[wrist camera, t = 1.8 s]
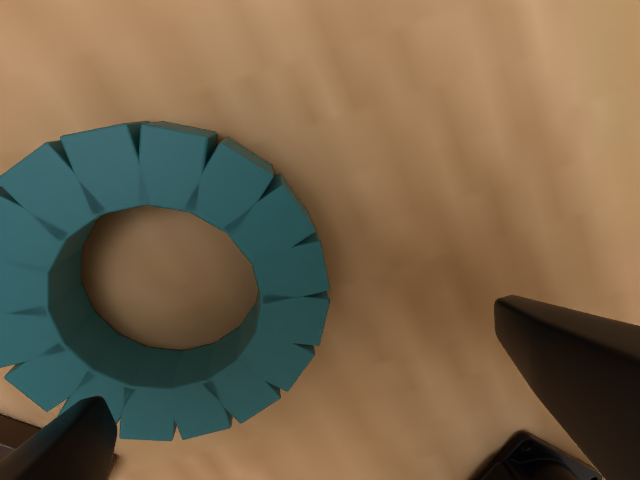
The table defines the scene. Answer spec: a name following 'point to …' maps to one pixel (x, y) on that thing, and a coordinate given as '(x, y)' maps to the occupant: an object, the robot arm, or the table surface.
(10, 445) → the stand
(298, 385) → the table surface
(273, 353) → the hoop
